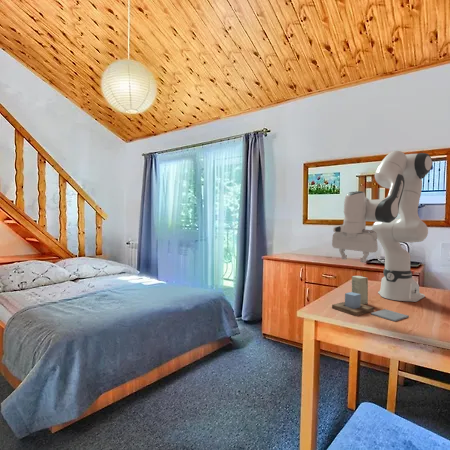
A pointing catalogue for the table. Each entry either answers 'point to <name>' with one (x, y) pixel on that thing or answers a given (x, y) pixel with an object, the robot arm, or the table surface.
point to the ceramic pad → (389, 315)
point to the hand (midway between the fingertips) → (353, 260)
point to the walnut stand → (358, 311)
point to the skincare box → (360, 287)
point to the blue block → (352, 300)
